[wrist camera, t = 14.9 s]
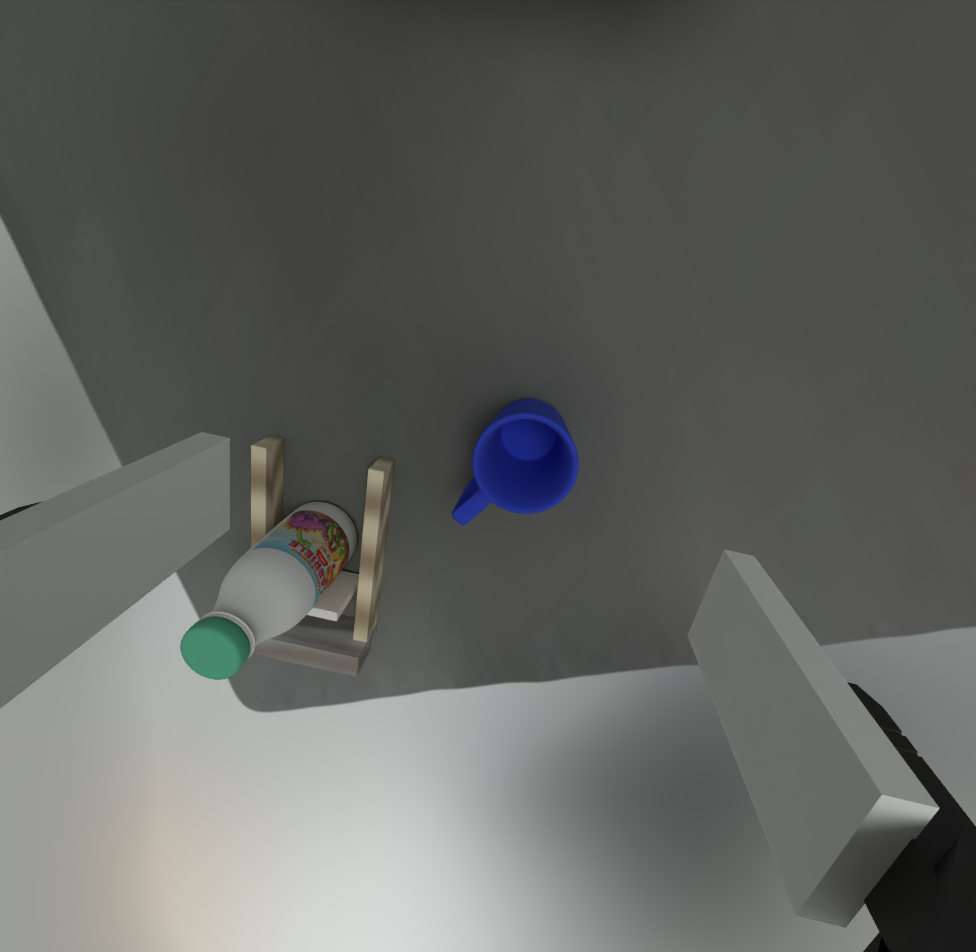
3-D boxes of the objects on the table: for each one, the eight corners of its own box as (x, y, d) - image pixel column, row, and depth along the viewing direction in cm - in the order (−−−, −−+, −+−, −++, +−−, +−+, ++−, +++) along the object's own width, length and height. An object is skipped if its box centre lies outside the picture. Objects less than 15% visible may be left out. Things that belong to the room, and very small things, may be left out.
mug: (441, 454, 50) (417, 492, 41) (531, 370, 47) (527, 390, 37) (498, 511, 52) (488, 560, 42) (590, 434, 48) (601, 469, 39)
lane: (269, 435, 52) (236, 453, 46) (394, 460, 51) (375, 481, 45) (267, 616, 60) (238, 650, 54) (374, 640, 59) (356, 676, 54)
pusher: (284, 558, 56) (250, 594, 50) (362, 574, 56) (337, 612, 49) (283, 588, 58) (250, 627, 51) (359, 605, 57) (334, 645, 51)
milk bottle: (325, 576, 57) (215, 715, 38) (276, 525, 55) (136, 644, 37) (374, 539, 54) (281, 668, 36) (324, 485, 53) (200, 590, 34)
